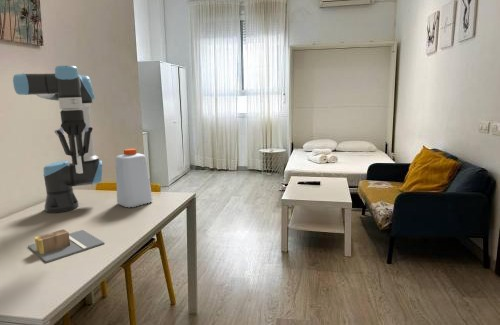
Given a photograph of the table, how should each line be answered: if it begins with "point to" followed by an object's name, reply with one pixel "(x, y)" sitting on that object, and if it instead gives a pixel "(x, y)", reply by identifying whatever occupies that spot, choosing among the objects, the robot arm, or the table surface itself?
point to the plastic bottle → (132, 179)
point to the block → (52, 241)
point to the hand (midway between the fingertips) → (79, 172)
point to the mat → (70, 246)
